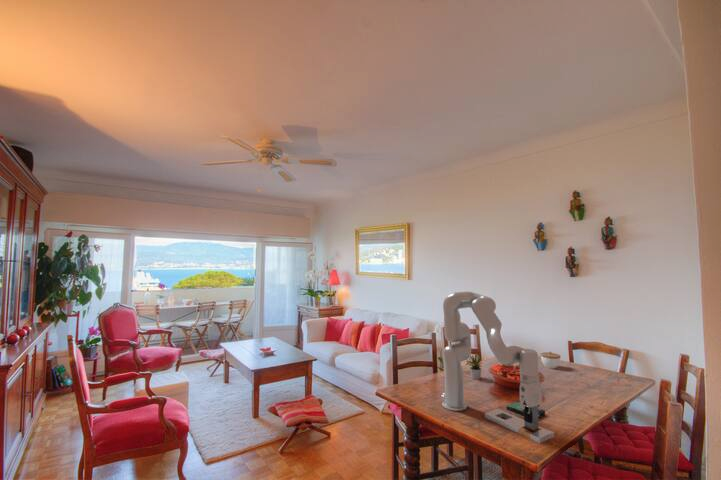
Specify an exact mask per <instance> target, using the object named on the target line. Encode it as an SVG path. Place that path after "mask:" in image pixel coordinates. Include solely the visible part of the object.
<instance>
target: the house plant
mask: <svg viewBox="0 0 721 480" xmlns="http://www.w3.org/2000/svg"><path fill="white" fill-rule="evenodd" d="M483 359H484V357H482V358H481V356H480V354H478V353H477V352H476V353H475V354H474V355H473V354H471V355H470V357H469V360H466V361H465V362H466V363H467V366H468V367H469V370H470V376H471V379H472V380H480V379H481V374H482V373H481V372H482V368H481V367H482V365H481V361H482V360H483ZM470 366H471V367H470Z"/></svg>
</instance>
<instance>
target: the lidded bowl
mask: <svg viewBox="0 0 721 480" xmlns="http://www.w3.org/2000/svg"><path fill="white" fill-rule="evenodd" d="M540 358H541V363H542V364H543V366H545V368H546V369H550V370H551V369H557V368H558V367H559V366H560V364H561V355H560V354H558V353H554V352H552V351H549V352H541V353H540Z"/></svg>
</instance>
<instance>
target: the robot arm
mask: <svg viewBox="0 0 721 480" xmlns="http://www.w3.org/2000/svg"><path fill="white" fill-rule="evenodd" d="M468 308H471V310H472V312H473V313H474V315H475V317H476V318H477V320H478V322H479V323H480V324H481V326H482V328H483V329H484V331H485V333H486V339H487V344H488V346H489V347H488V348H490V350H491V352H492V353H493V356H494V357H495V359H496V360H497V361H498V363H500V365H503V366H506V367H507V366H512V365H514V364H518V363H519V381H520V383H519V402H520V408H521V409H522V410H523V412H524V416H523V418H524V419H523V420H524V421H526V422H528V423H532V418H531V414H530V410H531V408H532V407H535V406H538V410H539V409H540V408H539V407H540V405H542V404H543V393H542V386H541V382H540V376H539V375H540V374H539V371H540V369H539V355H538V354H539V353H538V352H537V351H536V350H534V349H530V348H523V347H520V346H516V345H509V346H507V345H506V344H505V343H504V341H503V338H502V336H501V329H502V327H503V324H502V322H501V320H500V319H499V317H498V316H497V314H496V313H495V311H496V308H497V305H496V302H495V300H494V299H493V298H491V297H489V296H485V295H483V294H479V293H476V292H472V291H459V292H453V293H450V294H449V295H447V296H446V297H445V298H444V300H443V303H442V309H443V327H444V331H443V332H444V337H445V340H446V341H447V342H449V343H451V344H449V345H447V346H445V347H444V349H443V350H442V361H443V368H444V370H443V371H444V392H442V393H441V395H440V397H441V398H443V401H442V402H441V404H442V407H443V408H444V409H446V410H448V411H455V412H462V411H464V410H467V408H468V404H467V403H466V402H465V397H464V395H465V394H464V390H465V389H464V370H463V366H462V364H461V363H462V362H465V361H468V360H469V359H470V356H472V338H471V337H472V336H471V330H470V328H469V326H468V324H466V323H464V322H462V321H461V314H460V311H459V310H460V309H468ZM526 407H528V409H527V408H526Z"/></svg>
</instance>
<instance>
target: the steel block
mask: <svg viewBox="0 0 721 480" xmlns="http://www.w3.org/2000/svg"><path fill="white" fill-rule="evenodd" d="M526 408H527V409H528V407H526ZM538 408H539V407H538V406H535V407H532V408H531V410H530V414H531V418H532V423H528V422H526V421H524V423H525V427H528V428H530V429H532V430H531V431H533V430H534V429H537V428H539V424H540V423H539V418H538ZM530 429H529V430H530Z"/></svg>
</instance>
